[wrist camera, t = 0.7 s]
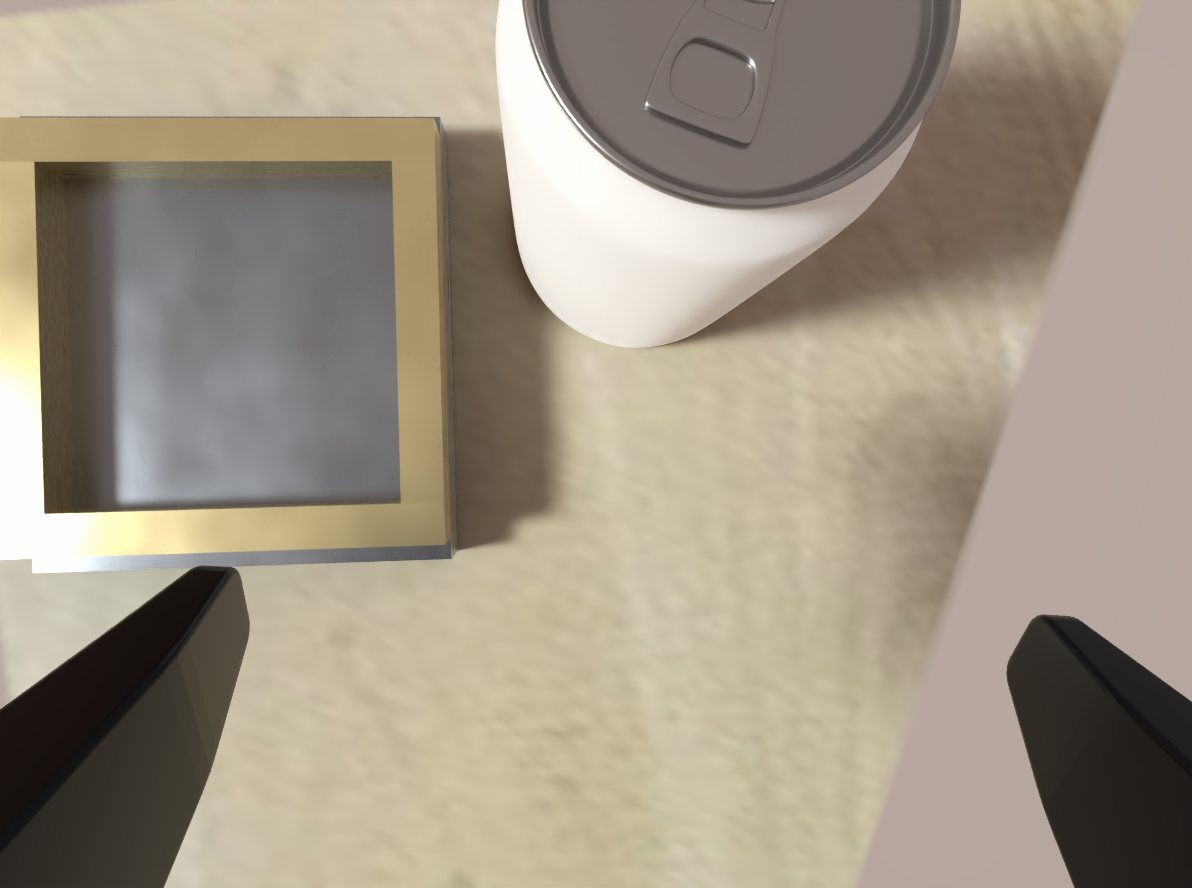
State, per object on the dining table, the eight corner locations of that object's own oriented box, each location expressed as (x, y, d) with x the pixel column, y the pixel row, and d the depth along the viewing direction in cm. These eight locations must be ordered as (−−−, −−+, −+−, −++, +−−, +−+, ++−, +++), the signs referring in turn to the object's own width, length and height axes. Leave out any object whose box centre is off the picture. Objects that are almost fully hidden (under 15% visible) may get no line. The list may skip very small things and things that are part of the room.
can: (784, 162, 22) (1063, -159, 10) (706, 384, 22) (899, 315, 10) (562, 77, 22) (587, -360, 10) (481, 302, 22) (410, 134, 10)
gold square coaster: (457, 550, 22) (445, 566, 19) (68, 563, 21) (-1, 581, 18) (446, 139, 22) (433, 96, 19) (56, 139, 21) (-14, 95, 18)
